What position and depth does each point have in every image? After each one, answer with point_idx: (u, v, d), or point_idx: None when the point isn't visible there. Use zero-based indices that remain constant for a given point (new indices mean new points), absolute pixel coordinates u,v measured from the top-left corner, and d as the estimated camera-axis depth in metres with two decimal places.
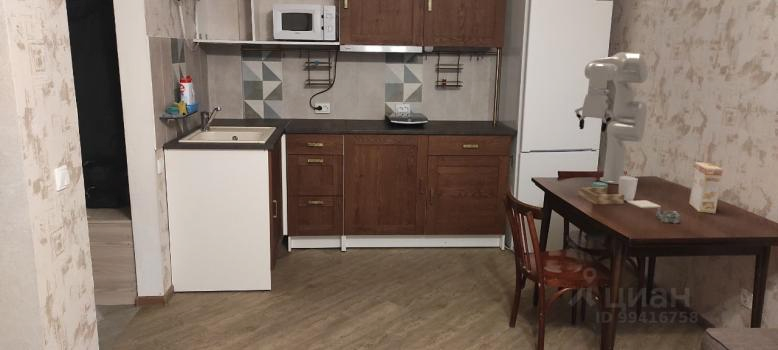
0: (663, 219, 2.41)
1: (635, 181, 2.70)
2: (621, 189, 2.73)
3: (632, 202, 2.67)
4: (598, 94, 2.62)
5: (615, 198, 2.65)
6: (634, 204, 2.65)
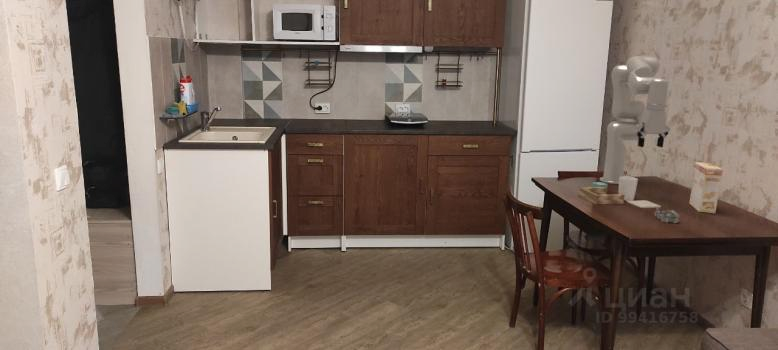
0: (663, 219, 2.41)
1: (635, 181, 2.70)
2: (621, 189, 2.73)
3: (632, 202, 2.67)
4: (663, 110, 2.56)
5: (615, 198, 2.65)
6: (634, 204, 2.65)
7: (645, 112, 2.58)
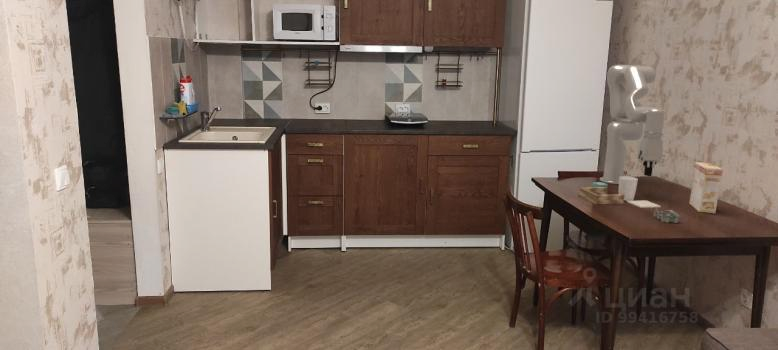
0: (664, 219, 2.40)
1: (635, 181, 2.70)
2: (621, 189, 2.73)
3: (632, 202, 2.67)
4: (660, 138, 2.69)
5: (615, 198, 2.65)
6: (634, 204, 2.65)
7: (643, 140, 2.71)
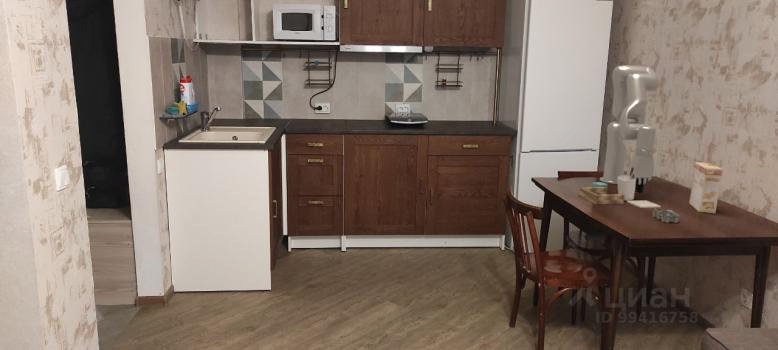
0: (664, 219, 2.40)
1: (633, 181, 2.69)
2: (620, 189, 2.72)
3: (632, 202, 2.67)
4: (651, 156, 2.69)
5: (615, 198, 2.65)
6: (634, 204, 2.65)
7: (634, 157, 2.71)
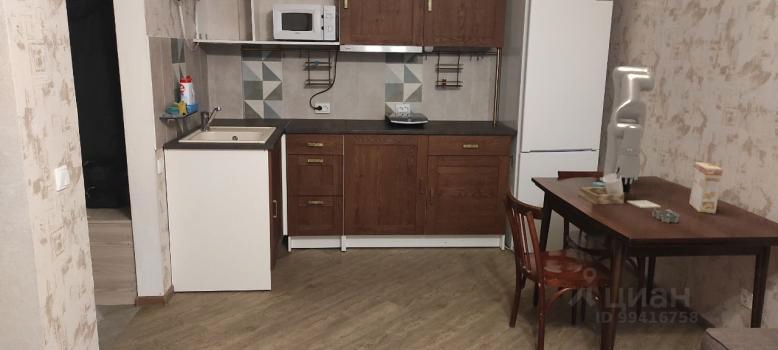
0: (665, 219, 2.40)
1: (618, 181, 2.67)
2: (607, 190, 2.71)
3: (632, 202, 2.67)
4: (638, 155, 2.67)
5: (615, 198, 2.65)
6: (634, 204, 2.65)
7: (620, 157, 2.69)
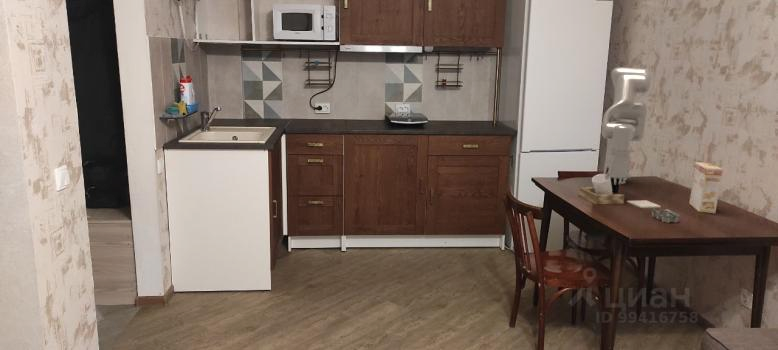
0: (665, 219, 2.40)
1: (607, 181, 2.65)
2: (596, 191, 2.70)
3: (632, 202, 2.67)
4: (627, 155, 2.66)
5: (615, 198, 2.65)
6: (634, 204, 2.65)
7: (609, 157, 2.68)
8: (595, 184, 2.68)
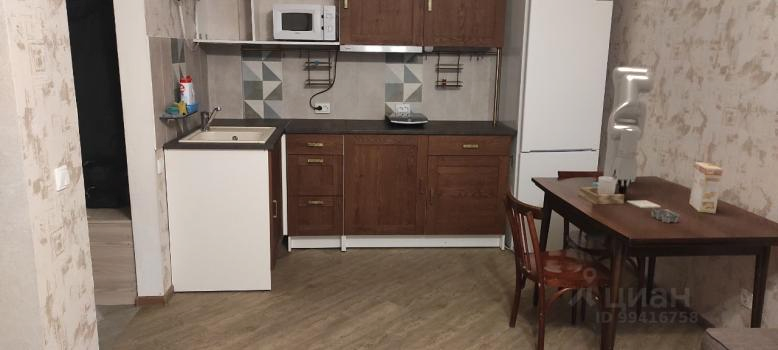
0: (665, 219, 2.40)
1: (613, 181, 2.67)
2: (599, 189, 2.70)
3: (632, 202, 2.67)
4: (634, 158, 2.68)
5: (615, 198, 2.65)
6: (634, 204, 2.65)
7: (617, 159, 2.70)
8: (601, 181, 2.69)
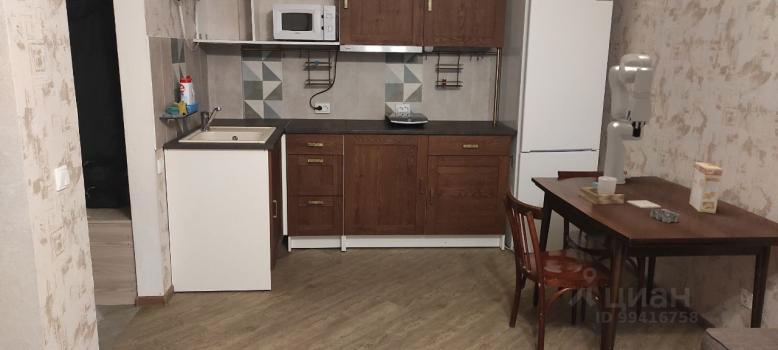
0: (666, 219, 2.40)
1: (613, 181, 2.67)
2: (599, 189, 2.71)
3: (632, 202, 2.67)
4: (649, 98, 2.63)
5: (615, 198, 2.65)
6: (634, 204, 2.65)
7: (631, 100, 2.65)
8: (601, 181, 2.69)
